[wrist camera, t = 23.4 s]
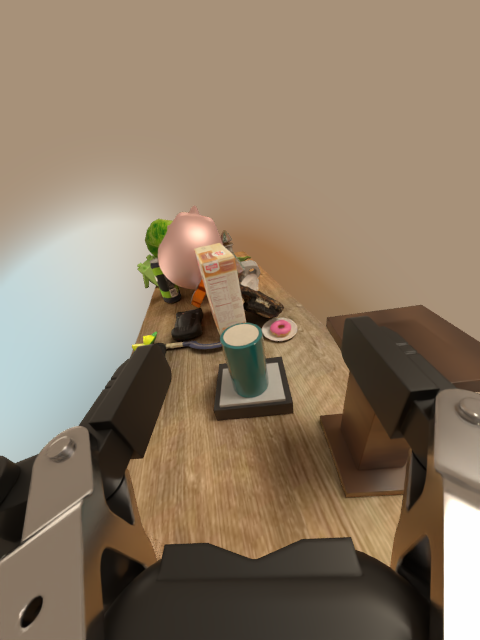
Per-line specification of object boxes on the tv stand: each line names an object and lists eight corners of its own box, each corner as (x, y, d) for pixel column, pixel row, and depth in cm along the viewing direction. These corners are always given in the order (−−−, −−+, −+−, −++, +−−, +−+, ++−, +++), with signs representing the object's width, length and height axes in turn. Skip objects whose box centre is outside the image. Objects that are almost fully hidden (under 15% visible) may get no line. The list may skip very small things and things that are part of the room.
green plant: (152, 264, 81) (172, 284, 89) (163, 245, 90) (180, 264, 98) (127, 277, 87) (147, 295, 95) (139, 258, 96) (157, 276, 104)
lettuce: (200, 237, 82) (193, 215, 89) (145, 233, 74) (142, 209, 81) (195, 269, 95) (189, 248, 102) (147, 269, 87) (144, 246, 94)
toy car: (203, 310, 65) (199, 298, 63) (202, 338, 52) (197, 324, 50) (179, 315, 65) (175, 303, 63) (173, 345, 52) (167, 331, 50)
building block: (211, 282, 56) (201, 277, 56) (202, 300, 54) (192, 295, 53) (207, 291, 62) (198, 287, 61) (199, 308, 59) (190, 303, 59)
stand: (384, 414, 30) (421, 304, 20) (433, 492, 22) (531, 375, 13) (319, 420, 30) (326, 317, 21) (346, 497, 23) (375, 390, 13)
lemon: (136, 363, 47) (125, 356, 46) (135, 355, 54) (126, 349, 53) (161, 335, 49) (151, 327, 48) (157, 331, 56) (148, 324, 55)
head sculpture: (216, 221, 83) (239, 197, 55) (211, 286, 88) (229, 295, 60) (162, 210, 76) (157, 176, 49) (159, 281, 82) (153, 288, 54)
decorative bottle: (222, 278, 82) (227, 226, 70) (247, 286, 80) (256, 233, 68) (211, 289, 75) (214, 233, 62) (237, 298, 73) (246, 242, 60)
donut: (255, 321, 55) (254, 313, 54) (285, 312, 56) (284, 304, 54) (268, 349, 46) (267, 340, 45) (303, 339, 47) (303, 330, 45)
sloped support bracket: (212, 266, 83) (211, 272, 76) (257, 259, 83) (259, 265, 76) (215, 279, 86) (214, 286, 79) (258, 273, 86) (261, 279, 79)
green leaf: (220, 261, 110) (220, 259, 110) (247, 254, 111) (247, 253, 111) (223, 266, 100) (223, 264, 100) (253, 259, 102) (253, 257, 101)
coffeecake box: (211, 314, 62) (193, 248, 52) (234, 308, 63) (220, 241, 53) (221, 343, 50) (199, 263, 39) (249, 334, 51) (235, 254, 40)
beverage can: (183, 294, 79) (169, 255, 71) (180, 302, 73) (165, 260, 65) (167, 297, 79) (152, 258, 71) (163, 305, 74) (146, 263, 66)
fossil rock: (231, 302, 62) (237, 283, 61) (274, 319, 61) (282, 300, 60) (222, 303, 48) (230, 279, 47) (278, 324, 47) (288, 300, 46)
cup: (266, 367, 37) (260, 319, 31) (271, 396, 32) (264, 345, 26) (233, 371, 37) (221, 325, 32) (232, 400, 32) (217, 351, 27)
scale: (282, 366, 40) (281, 354, 39) (293, 413, 32) (292, 400, 30) (222, 373, 42) (218, 361, 40) (217, 420, 33) (212, 408, 31)
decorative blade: (231, 348, 46) (233, 338, 51) (231, 344, 46) (232, 334, 50) (142, 357, 48) (152, 347, 53) (141, 354, 48) (151, 344, 52)
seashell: (267, 295, 69) (263, 271, 69) (258, 295, 64) (254, 270, 65) (248, 300, 74) (245, 278, 74) (239, 300, 69) (235, 276, 70)
